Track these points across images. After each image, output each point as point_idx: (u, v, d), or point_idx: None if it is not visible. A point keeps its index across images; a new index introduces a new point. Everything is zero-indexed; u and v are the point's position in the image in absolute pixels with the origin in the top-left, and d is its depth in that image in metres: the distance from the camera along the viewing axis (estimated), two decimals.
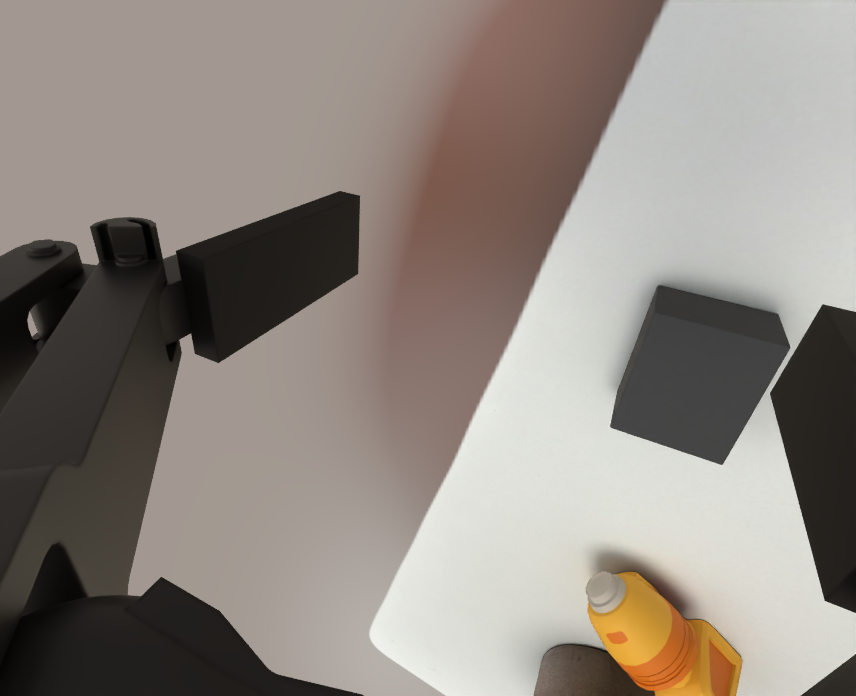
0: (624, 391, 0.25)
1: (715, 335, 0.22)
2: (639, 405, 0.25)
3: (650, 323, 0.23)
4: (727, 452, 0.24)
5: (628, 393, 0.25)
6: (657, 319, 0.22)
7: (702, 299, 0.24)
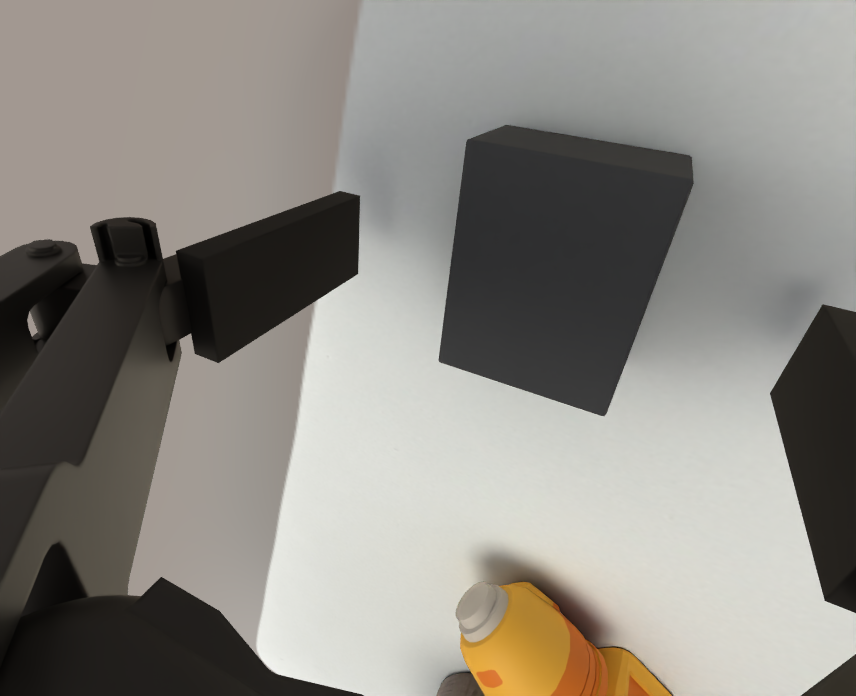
0: (447, 297, 0.15)
1: (566, 173, 0.12)
2: (471, 320, 0.15)
3: (464, 165, 0.13)
4: (609, 394, 0.14)
5: (451, 300, 0.15)
6: (472, 154, 0.13)
7: (568, 138, 0.14)
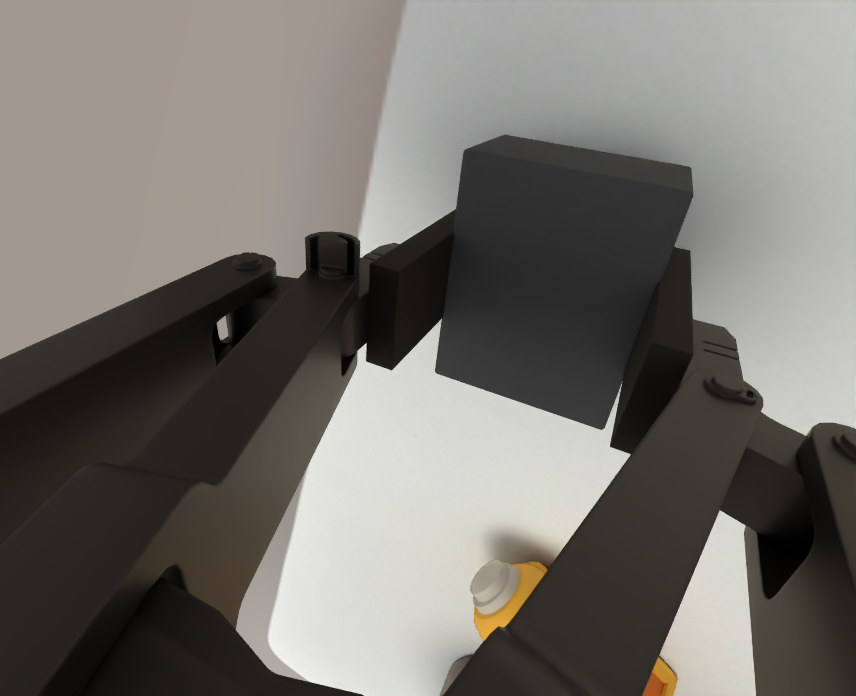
0: None
1: (564, 185, 0.12)
2: (468, 331, 0.15)
3: (461, 175, 0.13)
4: (607, 407, 0.14)
5: (448, 311, 0.15)
6: (469, 165, 0.13)
7: (566, 148, 0.14)
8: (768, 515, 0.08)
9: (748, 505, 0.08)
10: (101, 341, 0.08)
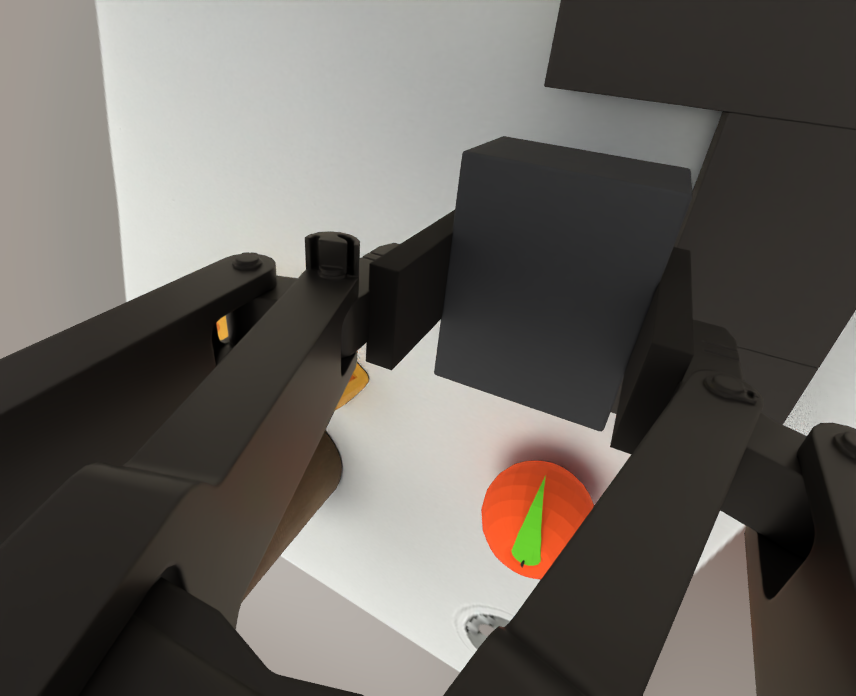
0: None
1: (563, 186, 0.12)
2: (467, 332, 0.15)
3: (460, 176, 0.13)
4: (607, 409, 0.14)
5: (447, 313, 0.15)
6: (468, 166, 0.13)
7: (565, 149, 0.14)
8: (768, 516, 0.08)
9: (749, 505, 0.08)
10: (101, 341, 0.08)
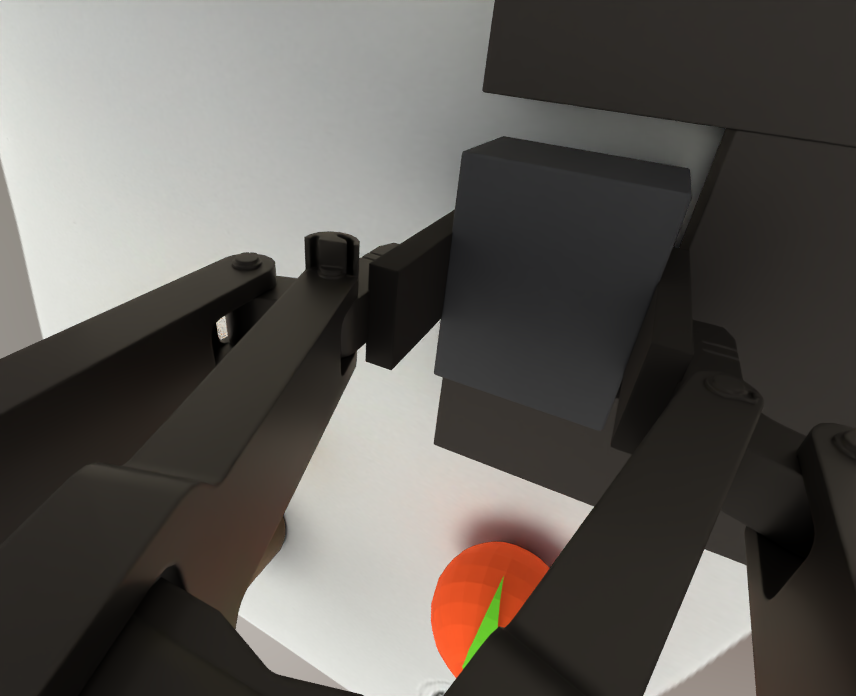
0: None
1: (563, 186, 0.12)
2: (467, 332, 0.15)
3: (460, 176, 0.13)
4: (606, 409, 0.14)
5: (447, 313, 0.15)
6: (468, 167, 0.13)
7: (565, 150, 0.14)
8: (768, 516, 0.08)
9: (749, 506, 0.08)
10: (100, 341, 0.08)
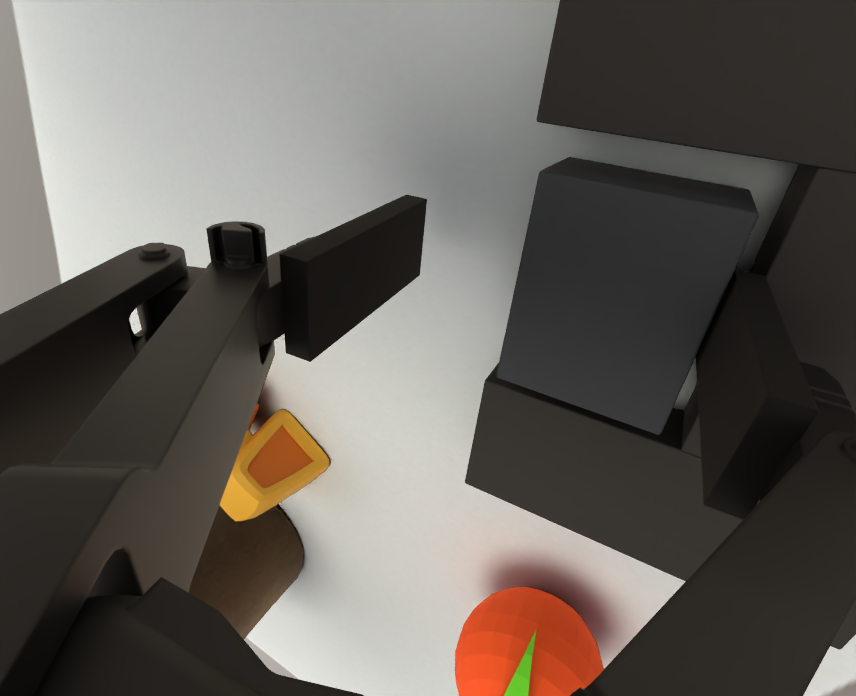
0: (509, 316, 0.16)
1: (634, 204, 0.13)
2: (532, 338, 0.16)
3: (535, 194, 0.14)
4: (665, 413, 0.15)
5: (514, 319, 0.16)
6: (544, 185, 0.14)
7: (630, 170, 0.15)
8: None
9: None
10: (12, 337, 0.08)
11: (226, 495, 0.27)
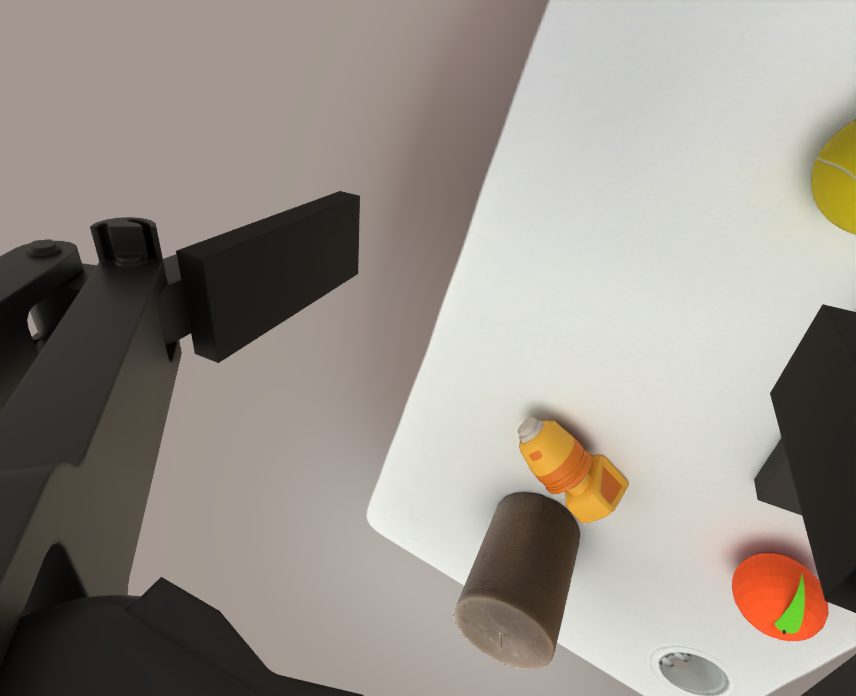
0: None
1: None
2: None
3: None
4: None
5: None
6: None
7: None
8: None
9: None
10: None
11: (585, 508, 0.46)
